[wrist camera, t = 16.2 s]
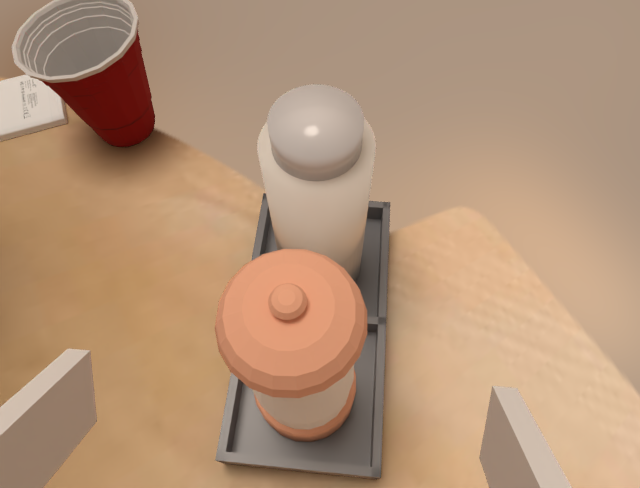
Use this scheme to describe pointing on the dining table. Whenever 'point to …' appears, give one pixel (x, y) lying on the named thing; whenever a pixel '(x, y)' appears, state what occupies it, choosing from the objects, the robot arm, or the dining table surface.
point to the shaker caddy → (367, 410)
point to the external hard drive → (28, 107)
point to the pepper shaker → (294, 339)
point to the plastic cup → (91, 64)
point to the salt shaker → (318, 172)
